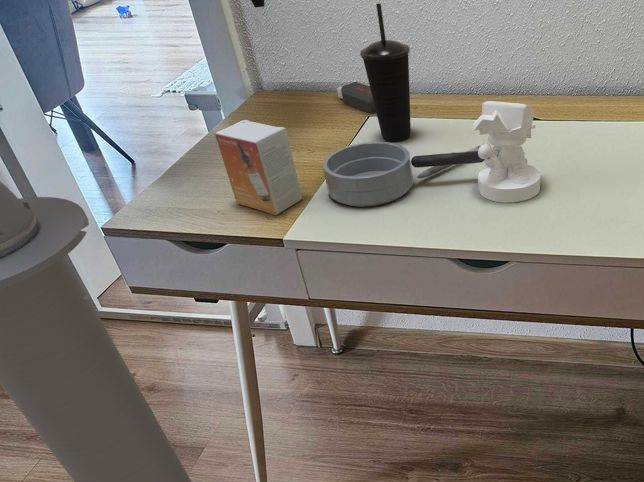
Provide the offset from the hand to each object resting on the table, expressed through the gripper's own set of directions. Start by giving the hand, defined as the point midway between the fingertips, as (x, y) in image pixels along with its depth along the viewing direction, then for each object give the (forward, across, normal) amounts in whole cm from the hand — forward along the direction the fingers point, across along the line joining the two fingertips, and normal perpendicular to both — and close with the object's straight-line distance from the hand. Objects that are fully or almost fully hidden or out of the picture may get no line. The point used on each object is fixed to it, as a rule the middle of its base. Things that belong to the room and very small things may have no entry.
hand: (256, 1), depth 93 cm
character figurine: (+32, -35, +2) cm, 48 cm away
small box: (+31, -1, 0) cm, 31 cm away
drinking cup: (+16, -18, -14) cm, 28 cm away
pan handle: (+28, -27, +1) cm, 39 cm away
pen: (+26, -27, -4) cm, 38 cm away
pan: (+30, -15, 0) cm, 33 cm away
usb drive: (+4, -11, -27) cm, 29 cm away
